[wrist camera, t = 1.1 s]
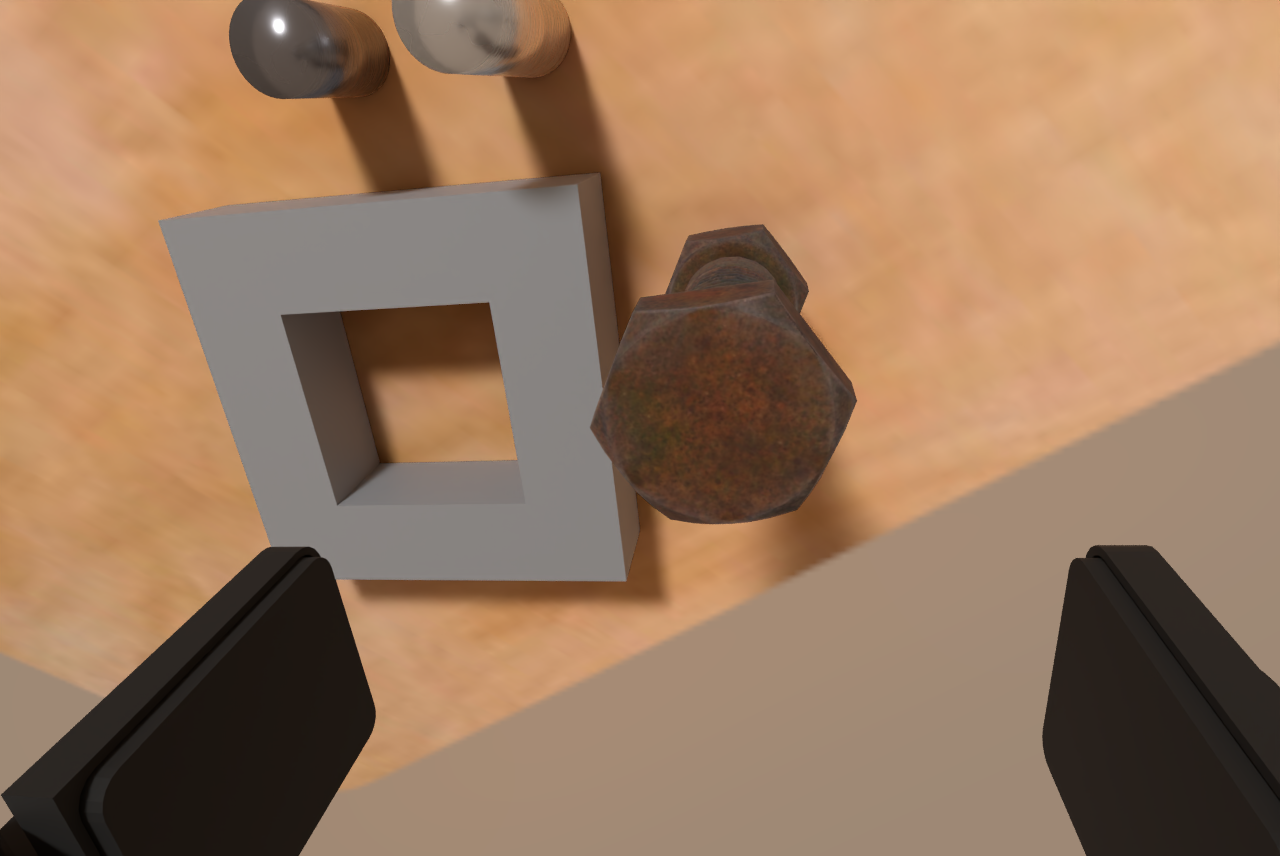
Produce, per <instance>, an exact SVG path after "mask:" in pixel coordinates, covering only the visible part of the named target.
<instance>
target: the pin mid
mask: <svg viewBox="0 0 1280 856" xmlns="http://www.w3.org/2000/svg"><path fill="white" fill-rule="evenodd" d="M392 12H393V18H394V22H395V26H396V29H397V31H398V34H399V36H400V38H401V40H402V42H403V43H404V45H405V47H406V48H407V49H408V51H409V52H410V53H411V54H412V55H413V56H414V57H415V58H416V59H417V60H418V61H419V62H421V63H422V64H423V65H425V66H427V67H428V68H430V69H433V70H435V71H438V72H442V73H448V74H467V75H487V76H508V77H529V78H534V77H541V76H544V75H547V74H549V73H551V72H552V71H553V70H555V69H556V68H557V67H558V66H559V65H560V64H561V62H562V61H563V59H564V58H565V56H566V54H567V51H568V48H569V45H570V39H571V28H570V21H569V18H568V14H567V12H566V10H565V8H564V6H563V4H562V3H561V1H560V0H392Z"/></svg>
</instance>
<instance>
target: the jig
mask: <svg viewBox="0 0 1280 856" xmlns="http://www.w3.org/2000/svg"><path fill="white" fill-rule="evenodd" d="M159 224H160V227H161V230H162V233H163V236H164V238H165V241H166V244H167V247H168V250H169V253H170V256H171V259H172V262H173V264H174V267H175V270H176V273H177V276H178V279H179V282H180V285H181V288H182V290H183V293H184V296H185V299H186V302H187V305H188V308H189V311H190V314H191V316H192V319H193V322H194V325H195V328H196V331H197V334H198V337H199V340H200V342H201V345H202V348H203V351H204V354H205V357H206V360H207V363H208V365H209V368H210V371H211V374H212V377H213V380H214V383H215V386H216V389H217V391H218V394H219V397H220V400H221V403H222V406H223V409H224V412H225V415H226V417H227V420H228V423H229V426H230V429H231V432H232V435H233V438H234V441H235V443H236V446H237V449H238V452H239V455H240V458H241V461H242V464H243V467H244V469H245V472H246V475H247V478H248V481H249V484H250V487H251V490H252V493H253V495H254V498H255V501H256V504H257V507H258V510H259V513H260V516H261V519H262V521H263V524H264V527H265V530H266V533H267V536H268V539H269V542H270V545H271V547H311V548H314V549H315V550H316V551H317V552H318V553H319V554H320V556H321V557H323V558H326V559H327V560H328V561H329V562H330V565H331V567H332V570H333V573H334V576H335V579H358V580H499V581H627V577H628V574H629V570H630V566H631V562H632V559H633V555H634V551H635V548H636V544H637V540H638V536H639V533H640V525H639V516H638V507H637V498H636V491H635V489H634V488H633V487H632V486H631V485H630V484H629V483H628V481H627V480H626V479H625V478H624V477H623V475H622V474H621V473H620V472H619V471H618V469H617V468H616V467H615V465H614V464H613V463H612V461H611V460H610V459H609V457H608V456H607V455H606V454H605V452H604V450H603V449H602V447H601V446H600V444H599V442H598V441H597V439H596V437H595V436H594V434H593V433H592V431H591V429H590V425H591V422H592V419H593V416H594V413H595V410H596V407H597V404H598V401H599V398H600V396H601V393H602V390H603V388H604V385H605V382H606V380H607V377H608V374H609V372H610V369H611V366H612V364H613V361H614V358H615V356H616V353H617V350H618V348H619V336H618V327H617V318H616V309H615V300H614V291H613V282H612V273H611V264H610V255H609V246H608V237H607V228H606V219H605V210H604V201H603V192H602V183H601V174H600V172H599V173H588V174H576V175H565V176H554V177H543V178H531V179H520V180H509V181H497V182H486V183H475V184H463V185H452V186H441V187H430V188H418V189H407V190H396V191H384V192H373V193H362V194H351V195H339V196H328V197H317V198H305V199H294V200H283V201H272V202H260V203H249V204H238V205H227V206H223V207H218V208H214V209H209V210H204V211H200V212H195V213H191V214H186V215H182V216H177V217H173V218H168V219H164V220H159ZM487 302H489V304H490V309H491V315H492V320H493V326H494V331H495V337H496V342H497V348H498V354H499V359H500V365H501V370H502V376H503V381H504V387H505V392H506V398H507V404H508V409H509V415H510V420H511V426H512V431H513V437H514V442H515V448H516V454H517V459H518V460H512V461H466V462H419V463H380V461H379V458H378V454H377V450H376V446H375V442H374V439H373V435H372V431H371V427H370V423H369V420H368V416H367V412H366V408H365V404H364V401H363V397H362V393H361V389H360V385H359V382H358V378H357V374H356V370H355V367H354V363H353V359H352V355H351V351H350V348H349V344H348V340H347V336H346V332H345V329H344V325H343V321H342V317H341V313H340V311H353V310H369V309H386V308H403V307H420V306H436V305H453V304H470V303H487Z"/></svg>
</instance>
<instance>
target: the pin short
mask: <svg viewBox="0 0 1280 856" xmlns="http://www.w3.org/2000/svg"><path fill="white" fill-rule="evenodd" d="M229 41H230V47H231V52H232V55H233V58H234V60H235V63H236V65H237V67H238V69H239V70H240V72H241V73H242V75H243V76H244V78H245V79H246V80H247V81H248V82H249V83H250V84H251V85H252V86H253V87H254V88H256V89H257V90H258V91H260V92H262V93H263V94H265V95H268V96H270V97H274V98H279V99H299V98H345V97H365V96H368V95H371V94H372V93H374V92H376V91H377V90H378V89H379V88H380V87H381V86H382V84H383V83H384V81H385V79H386V77H387V74H388V71H389V65H390V54H389V48H388V44H387V41H386V39H385V37H384V35H383V33H382V31H381V29H380V28H379V27H378V25H377V24H376V23H375V22H374V21H373V20H372V19H371V18H370V17H369V16H367V15H366V14H364V13H362V12H360V11H358V10H355V9H351V8H346V7H341V6H335V5H330V4H325V3H320V2H315V1H310V0H243V1H242V2H241V3H240V4H239V5H238V6H237V8H236V10H235V11H234V13H233V16H232V18H231V22H230V29H229Z"/></svg>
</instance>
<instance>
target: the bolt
mask: <svg viewBox="0 0 1280 856" xmlns="http://www.w3.org/2000/svg"><path fill="white" fill-rule="evenodd" d="M808 292H809V290H808V286H807V283H806V281H805V280H804V278H803V277H802V275H801V274H800V272H799V271H798V270H797V268H796V267H795V265H794V264H793V263H792V261H791V260H790V258H789V257H788V256H787V254H786V253H785V252H784V250H783V249H782V248H781V246H780V245H779V244H778V242H777V241H776V240H775V238H774V237H773V236H772V235H771V234H770V232H769V231H768V230H767V229H766V227H765V226H764V225H751V226H740V227H733V228H725V229H720V230H714V231H708V232H703V233H699V234H694V235H690V236H688V238H687V241H686V243H685V245H684V248H683V250H682V253H681V255H680V258H679V260H678V263H677V265H676V268H675V270H674V273H673V276H672V278H671V281H670V283H669V286H668V288H667V291H666V294H664V295H656V296H649V297H642V298H640V300H639V301H638V303H637V305H636V307H635V309H634V311H633V313H632V315H631V318H630V320H629V323H628V325H627V327H626V330H625V332H624V335H623V337H622V340H621V342H620V345H619V348H618V350H617V353H616V356H615V358H614V361H613V364H612V366H611V369H610V372H609V374H608V377H607V380H606V382H605V385H604V388H603V390H602V393H601V396H600V398H599V401H598V404H597V407H596V410H595V413H594V416H593V419H592V422H591V425H590V429H591V431H592V433H593V434H594V436H595V437H596V439H597V441H598V442H599V444H600V446H601V447H602V449H603V450H604V452H605V454H606V455H607V456H608V457H609V459H610V460H611V461H612V463H613V464H614V465H615V467H616V468H617V469H618V471H619V472H620V473H621V474H622V475H623V477H624V478H625V479H626V480H627V481H628V483H629V484H630V485H631V486H632V487H633V488H634V489H635V491H636V492H637V493H638V494H639V495H640V496H641V497H643V498H644V499H645V500H646V501H647V502H648V503H649V504H650V505H652V506H653V507H654V508H655V509H657V510H658V511H660V512H661V513H662V514H664V515H665V516H667V517H668V518H669V519H671V520H678V521H684V522H690V523H699V524H733V523H745V522H752V521H757V520H762V519H767V518H771V517H775V516H778V515H781V514H785V513H788V512H792V511H795V510H797V509H798V508H799V507H800V505H801V504H802V503H803V502H804V501H805V499H806V498H807V497H808V496H809V494H810V493H811V491H812V490H813V488H814V487H815V485H816V484H817V482H818V481H819V479H820V478H821V476H822V474H823V472H824V470H825V468H826V466H827V464H828V462H829V460H830V458H831V456H832V454H833V453H834V451H835V449H836V447H837V445H838V443H839V441H840V439H841V437H842V435H843V433H844V431H845V429H846V427H847V424H848V422H849V419H850V417H851V414H852V412H853V409H854V407H855V404H856V402H857V400H856V396H855V393H854V389H853V386H852V383H851V381H850V380H849V378H848V377H847V376H846V374H845V373H844V372H843V370H842V369H841V368H840V366H839V365H838V364H837V363H836V361H835V360H834V359H833V357H832V356H831V355H830V353H829V352H828V351H827V349H826V348H825V347H824V345H823V344H822V343H821V341H820V340H819V339H818V337H817V336H816V335H815V333H814V332H813V331H812V330H811V328H810V327H809V326H808V324H807V323H806V322H805V320H804V319H803V318H802V316H801V315H800V312H801V309H802V307H803V304H804V302H805V299H806V297H807V294H808Z"/></svg>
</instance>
